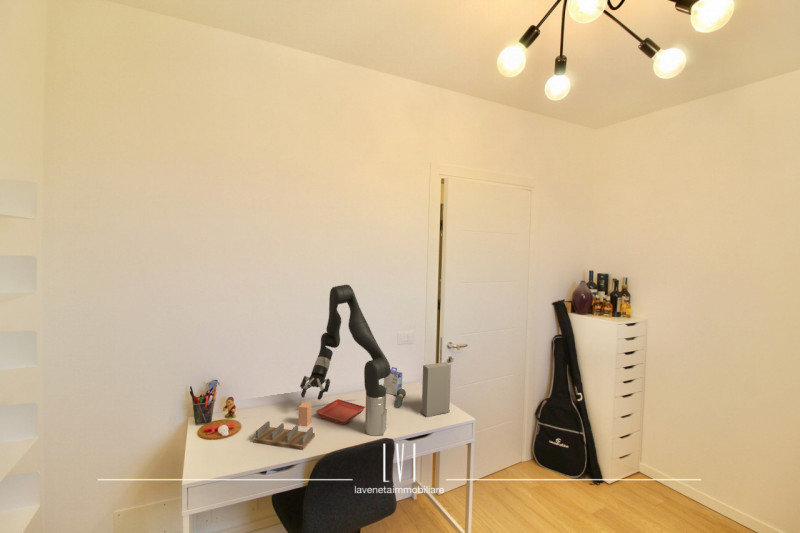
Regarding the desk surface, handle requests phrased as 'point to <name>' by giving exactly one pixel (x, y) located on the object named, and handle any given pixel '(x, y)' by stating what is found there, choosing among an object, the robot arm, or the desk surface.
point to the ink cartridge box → (393, 382)
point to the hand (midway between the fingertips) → (310, 398)
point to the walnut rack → (283, 436)
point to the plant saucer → (340, 411)
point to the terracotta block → (305, 414)
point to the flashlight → (400, 397)
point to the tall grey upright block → (436, 389)
